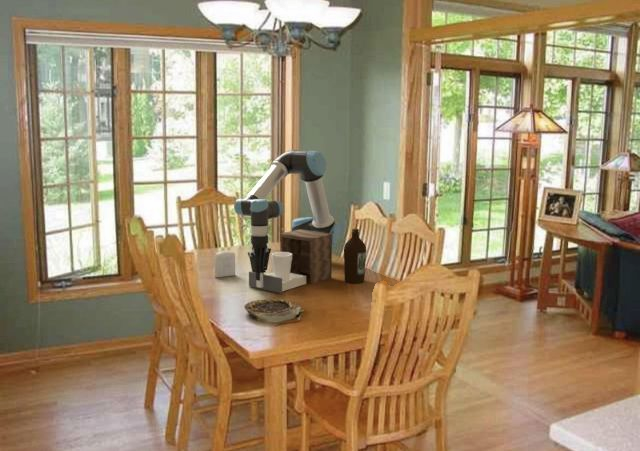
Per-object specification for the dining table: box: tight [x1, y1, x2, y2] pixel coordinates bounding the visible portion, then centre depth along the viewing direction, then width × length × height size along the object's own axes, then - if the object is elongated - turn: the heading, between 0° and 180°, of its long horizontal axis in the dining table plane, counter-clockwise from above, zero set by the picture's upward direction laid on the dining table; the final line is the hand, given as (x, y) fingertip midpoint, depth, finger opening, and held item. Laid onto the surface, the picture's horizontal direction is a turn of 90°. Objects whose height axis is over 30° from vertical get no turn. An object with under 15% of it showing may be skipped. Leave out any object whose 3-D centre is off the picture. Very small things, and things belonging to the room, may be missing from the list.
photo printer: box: [214, 250, 236, 278], centre depth 317 cm, size 10×4×12 cm, turn 123°
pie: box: [243, 298, 306, 327], centre depth 259 cm, size 28×27×5 cm
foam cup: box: [271, 251, 292, 282], centre depth 302 cm, size 10×9×13 cm
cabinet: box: [279, 229, 333, 285], centre depth 315 cm, size 15×19×22 cm
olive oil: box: [343, 228, 367, 284], centre depth 309 cm, size 11×11×25 cm
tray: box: [248, 270, 307, 294], centre depth 301 cm, size 20×19×7 cm
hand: (259, 286), depth 291 cm, fingers closed
